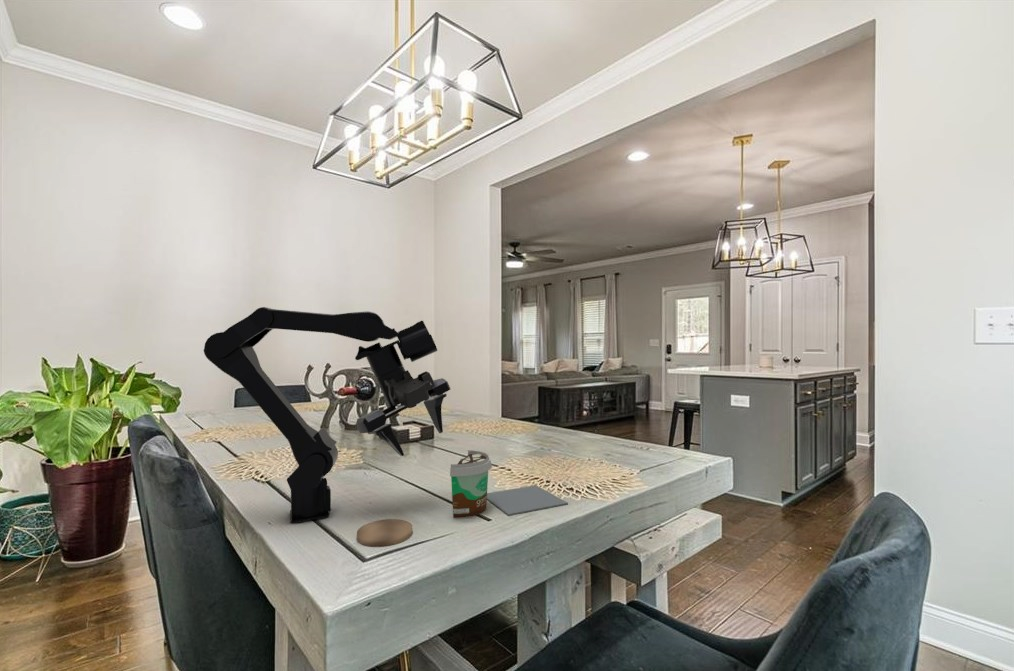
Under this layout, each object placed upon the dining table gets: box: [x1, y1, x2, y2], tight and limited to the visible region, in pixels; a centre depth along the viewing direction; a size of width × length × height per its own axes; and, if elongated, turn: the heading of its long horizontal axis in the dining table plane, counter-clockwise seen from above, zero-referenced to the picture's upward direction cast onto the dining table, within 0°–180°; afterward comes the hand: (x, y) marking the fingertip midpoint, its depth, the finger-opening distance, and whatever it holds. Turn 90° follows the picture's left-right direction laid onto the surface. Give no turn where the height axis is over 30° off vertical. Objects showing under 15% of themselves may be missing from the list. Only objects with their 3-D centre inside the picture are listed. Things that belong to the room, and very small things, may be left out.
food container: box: [449, 449, 493, 519], centre depth 90 cm, size 12×6×10 cm, turn 168°
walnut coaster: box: [356, 518, 413, 547], centre depth 79 cm, size 9×9×1 cm
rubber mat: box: [487, 484, 569, 517], centre depth 95 cm, size 13×13×1 cm
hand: (422, 443), depth 93 cm, fingers open, 9 cm apart
